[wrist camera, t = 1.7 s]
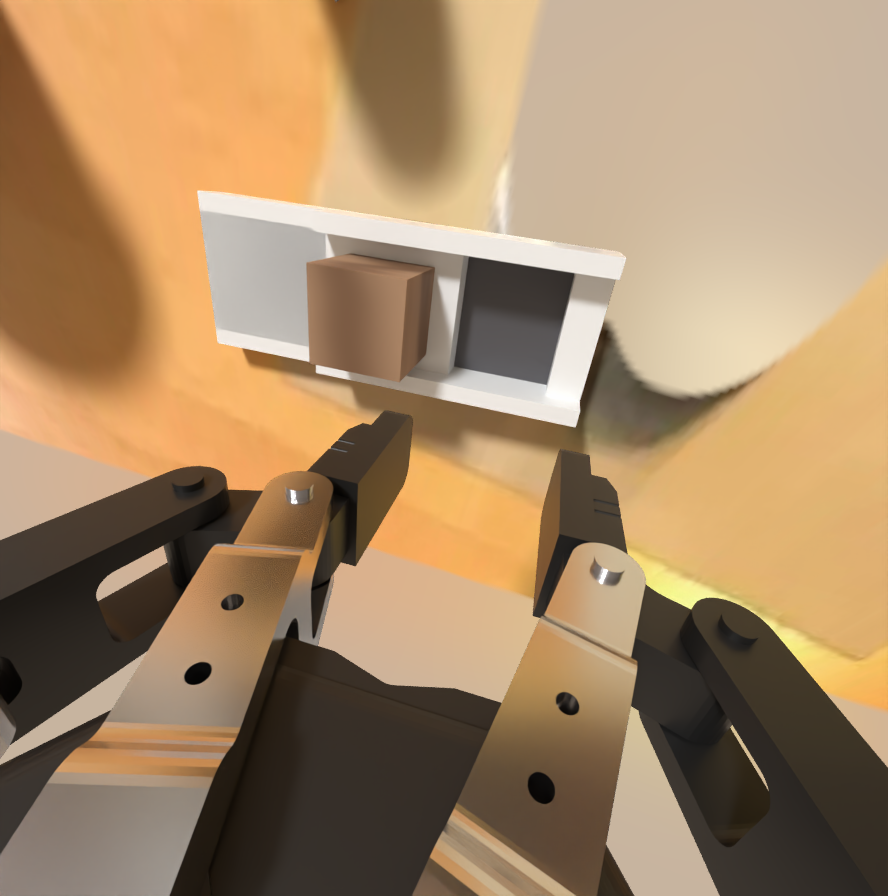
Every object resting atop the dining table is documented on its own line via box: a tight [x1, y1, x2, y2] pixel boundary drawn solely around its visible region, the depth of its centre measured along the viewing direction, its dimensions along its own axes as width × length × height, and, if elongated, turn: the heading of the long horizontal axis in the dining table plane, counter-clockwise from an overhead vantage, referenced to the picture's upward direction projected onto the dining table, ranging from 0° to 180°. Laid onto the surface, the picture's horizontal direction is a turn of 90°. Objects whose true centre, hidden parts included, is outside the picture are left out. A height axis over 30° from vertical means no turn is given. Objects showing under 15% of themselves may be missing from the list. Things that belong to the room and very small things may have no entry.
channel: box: [197, 191, 626, 427], centre depth 26 cm, size 24×9×4 cm, turn 83°
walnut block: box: [306, 253, 435, 382], centre depth 24 cm, size 5×5×5 cm
